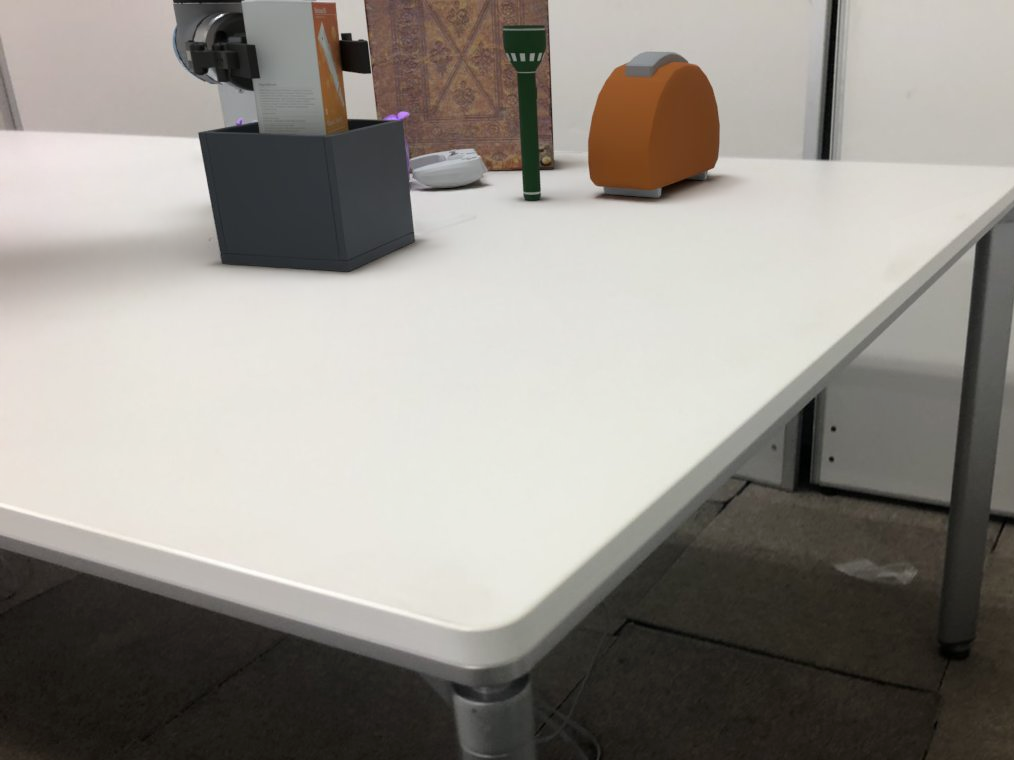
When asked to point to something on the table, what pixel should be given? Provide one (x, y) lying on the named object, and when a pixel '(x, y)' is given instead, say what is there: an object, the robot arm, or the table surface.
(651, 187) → the orange toaster
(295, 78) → the small box
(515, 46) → the flashlight
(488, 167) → the book
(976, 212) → the table surface
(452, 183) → the game controller
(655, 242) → the table surface
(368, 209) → the dark grey square bin
